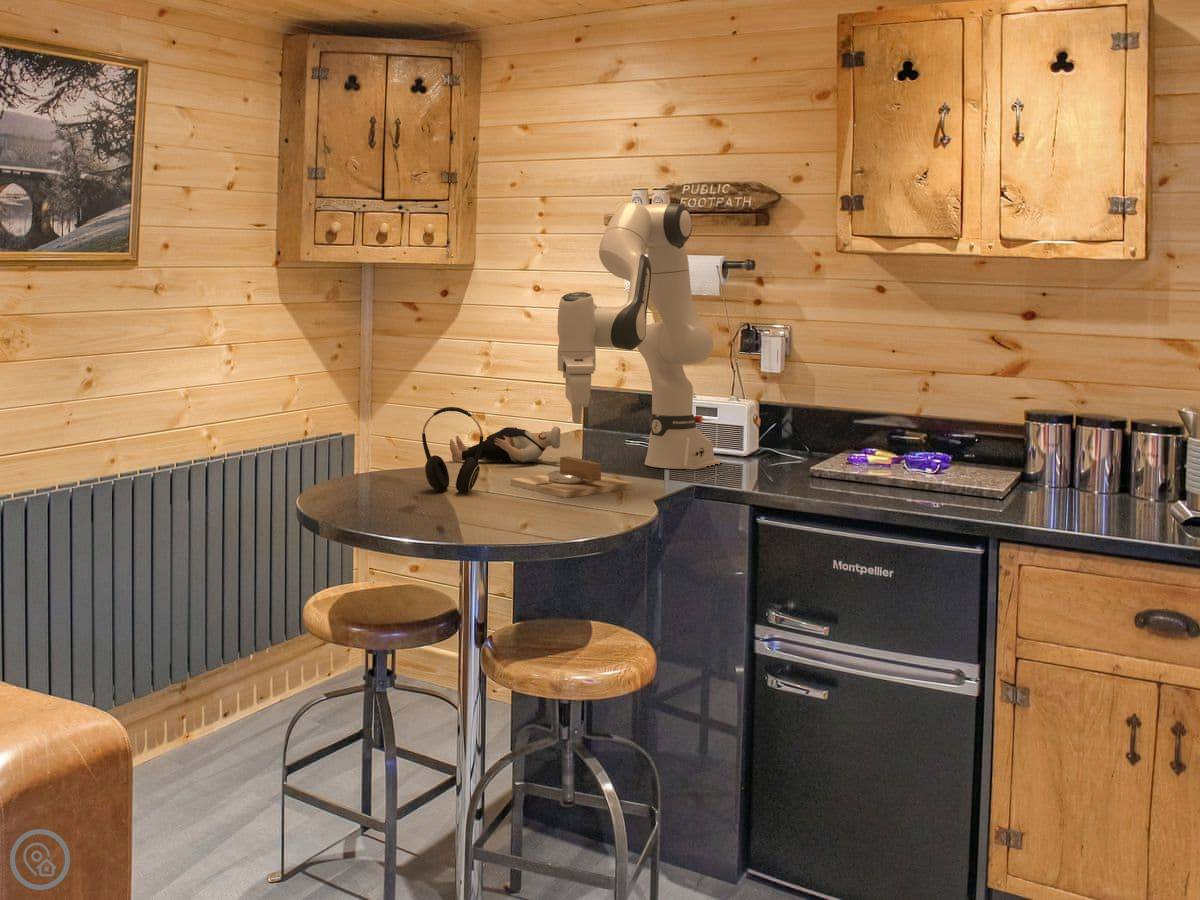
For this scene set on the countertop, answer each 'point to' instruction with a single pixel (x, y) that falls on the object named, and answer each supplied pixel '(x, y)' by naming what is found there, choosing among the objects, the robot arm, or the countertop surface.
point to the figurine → (509, 445)
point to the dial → (576, 471)
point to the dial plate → (570, 486)
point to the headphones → (438, 469)
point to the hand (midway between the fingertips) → (576, 422)
